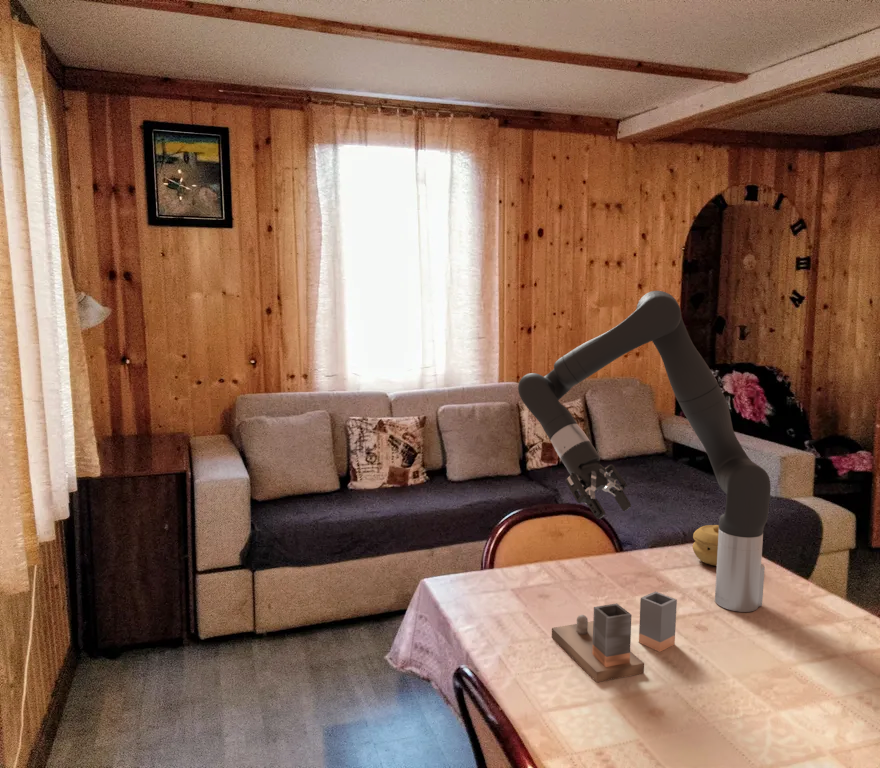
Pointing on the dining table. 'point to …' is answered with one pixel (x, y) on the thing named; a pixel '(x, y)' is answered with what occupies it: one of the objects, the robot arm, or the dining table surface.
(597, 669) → the pin board
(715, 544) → the pot
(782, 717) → the dining table surface
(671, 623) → the sleeve
